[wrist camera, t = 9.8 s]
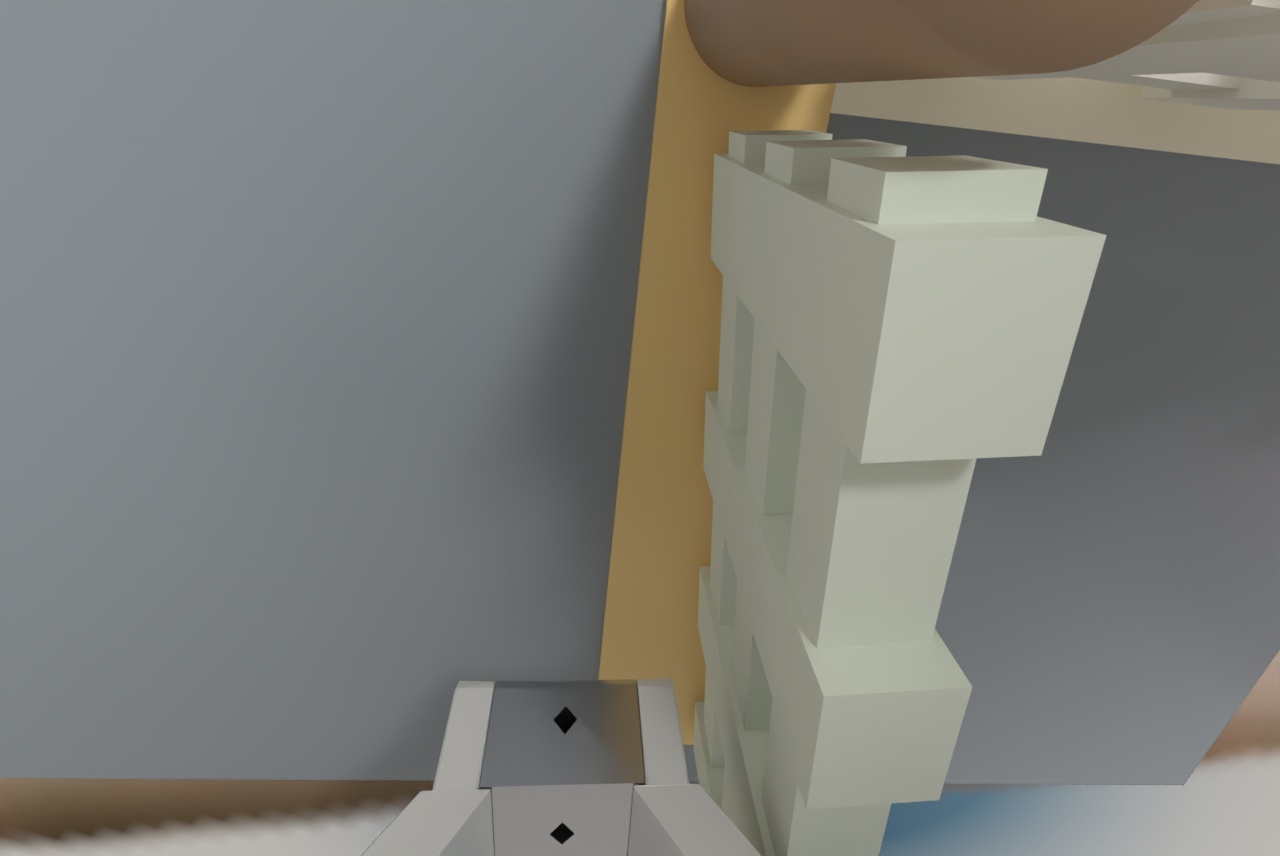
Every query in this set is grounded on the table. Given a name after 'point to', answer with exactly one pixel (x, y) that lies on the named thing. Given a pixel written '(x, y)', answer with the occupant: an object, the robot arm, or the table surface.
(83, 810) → the table surface
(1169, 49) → the fence fixed
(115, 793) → the table surface
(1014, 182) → the fence hinged
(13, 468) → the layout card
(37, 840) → the table surface
